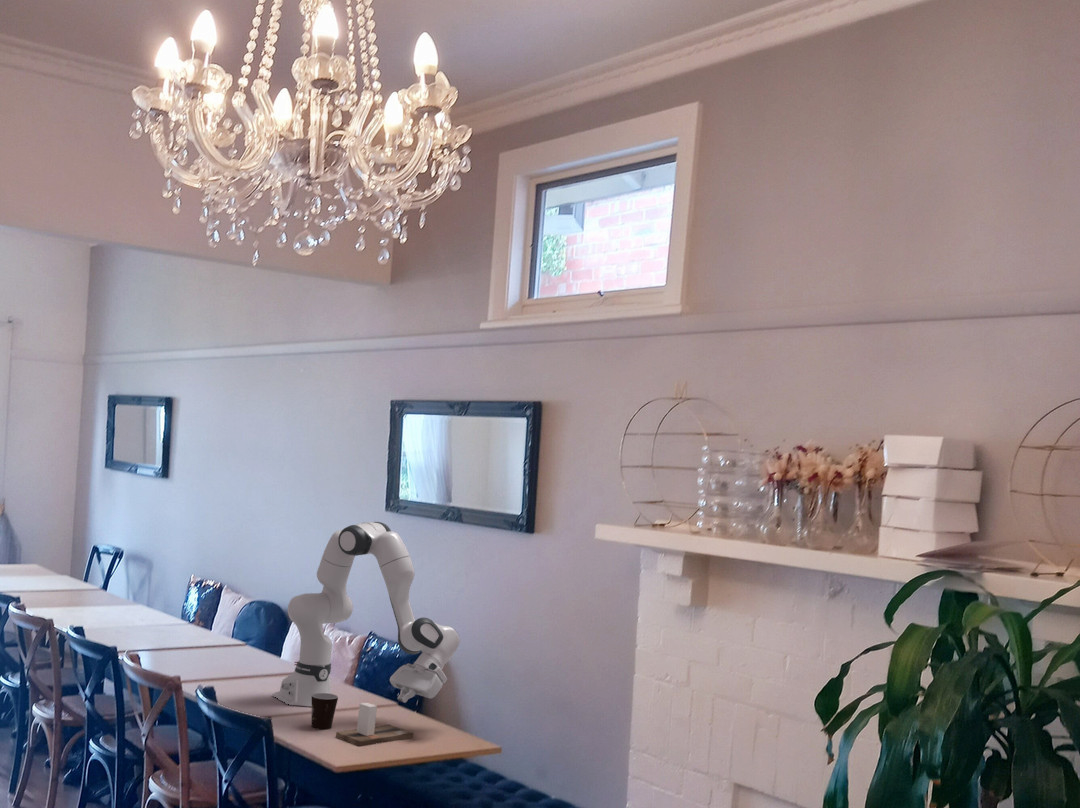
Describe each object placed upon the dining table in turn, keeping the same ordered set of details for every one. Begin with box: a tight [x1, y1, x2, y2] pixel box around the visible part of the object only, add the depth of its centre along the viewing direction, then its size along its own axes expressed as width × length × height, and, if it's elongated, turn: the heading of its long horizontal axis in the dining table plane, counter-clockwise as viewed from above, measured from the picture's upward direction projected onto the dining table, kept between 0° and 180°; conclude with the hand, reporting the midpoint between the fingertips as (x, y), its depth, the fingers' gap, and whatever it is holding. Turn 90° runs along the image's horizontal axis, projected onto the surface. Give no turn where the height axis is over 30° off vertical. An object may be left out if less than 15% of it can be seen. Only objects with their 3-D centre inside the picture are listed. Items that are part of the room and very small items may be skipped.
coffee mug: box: [311, 693, 339, 731], centre depth 330 cm, size 12×9×10 cm
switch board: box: [335, 723, 414, 747], centre depth 325 cm, size 12×22×2 cm, turn 139°
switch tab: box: [356, 702, 378, 736], centre depth 322 cm, size 5×3×9 cm, turn 49°
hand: (401, 700), depth 333 cm, fingers closed
